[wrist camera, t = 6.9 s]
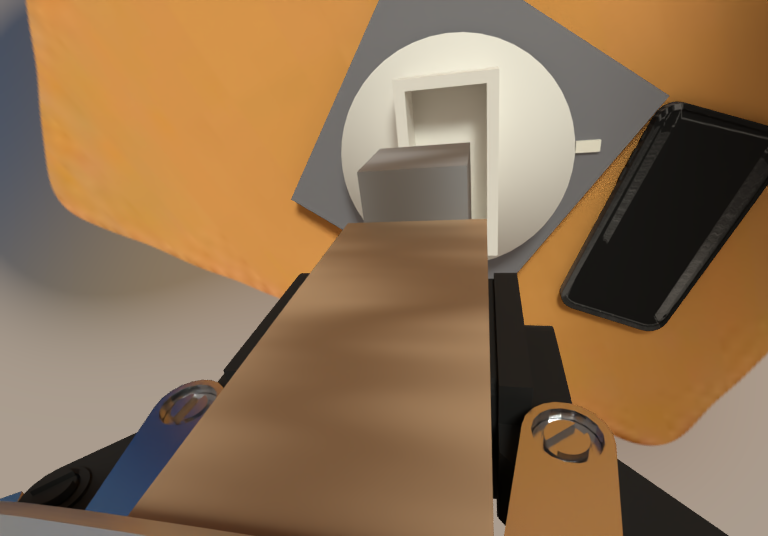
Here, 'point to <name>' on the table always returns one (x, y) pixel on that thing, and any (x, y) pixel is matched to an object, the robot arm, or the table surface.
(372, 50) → the dial plate
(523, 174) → the dial
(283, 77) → the table surface
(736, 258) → the table surface
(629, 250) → the phone
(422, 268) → the tan block
